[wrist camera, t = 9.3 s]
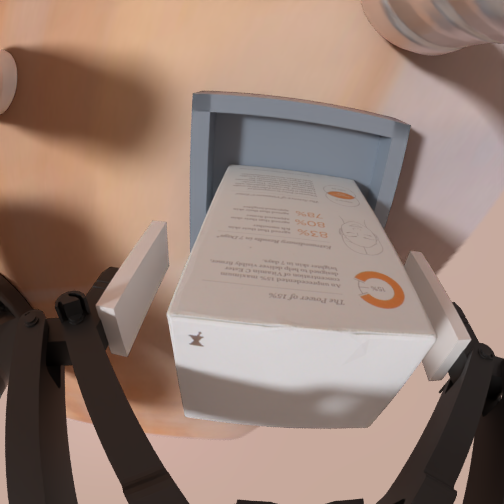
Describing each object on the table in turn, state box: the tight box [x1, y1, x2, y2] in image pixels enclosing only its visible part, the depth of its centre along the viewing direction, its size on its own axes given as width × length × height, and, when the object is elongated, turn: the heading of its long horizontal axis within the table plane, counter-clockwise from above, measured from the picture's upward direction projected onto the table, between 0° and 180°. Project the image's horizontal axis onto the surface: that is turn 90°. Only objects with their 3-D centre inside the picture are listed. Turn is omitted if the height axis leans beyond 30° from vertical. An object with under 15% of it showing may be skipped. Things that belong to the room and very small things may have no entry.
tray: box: [190, 91, 411, 253], centre depth 20 cm, size 12×15×2 cm
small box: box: [167, 164, 437, 428], centre depth 15 cm, size 8×6×13 cm
